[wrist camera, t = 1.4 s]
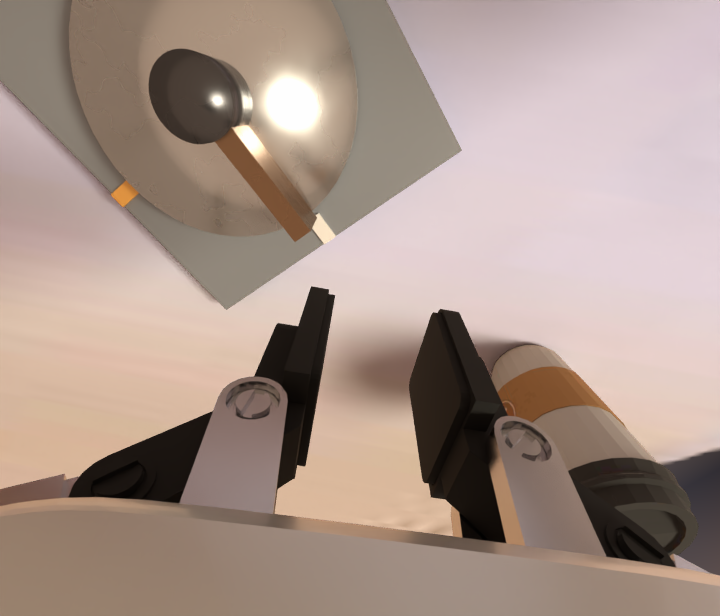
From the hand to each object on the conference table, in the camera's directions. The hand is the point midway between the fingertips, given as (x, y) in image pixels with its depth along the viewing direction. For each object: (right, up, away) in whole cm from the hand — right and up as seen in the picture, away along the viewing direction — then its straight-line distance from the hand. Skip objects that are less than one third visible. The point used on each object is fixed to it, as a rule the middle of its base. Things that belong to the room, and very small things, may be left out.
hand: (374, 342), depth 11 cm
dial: (-8, +13, +10) cm, 19 cm away
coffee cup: (+15, -5, +22) cm, 27 cm away
